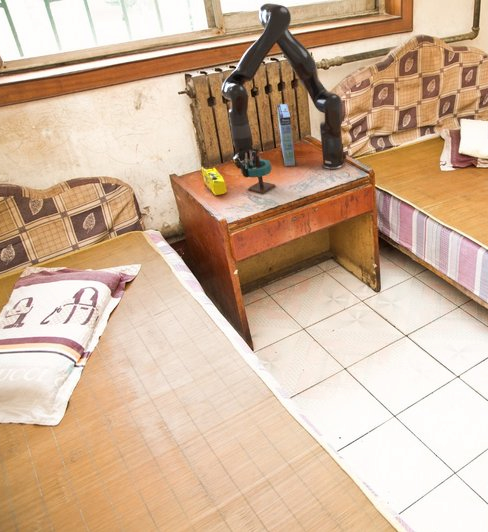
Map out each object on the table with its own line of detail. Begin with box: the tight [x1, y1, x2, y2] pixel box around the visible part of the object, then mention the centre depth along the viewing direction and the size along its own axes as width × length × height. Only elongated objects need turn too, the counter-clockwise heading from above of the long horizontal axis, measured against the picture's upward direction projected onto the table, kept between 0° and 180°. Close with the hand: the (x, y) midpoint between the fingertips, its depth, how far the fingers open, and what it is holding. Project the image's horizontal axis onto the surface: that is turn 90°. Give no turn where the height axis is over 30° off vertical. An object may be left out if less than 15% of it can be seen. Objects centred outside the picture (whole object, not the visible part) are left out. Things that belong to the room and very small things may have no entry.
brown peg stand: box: [247, 153, 276, 195], centre depth 227 cm, size 8×8×15 cm
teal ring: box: [240, 158, 273, 178], centre depth 224 cm, size 12×12×3 cm
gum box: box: [276, 103, 296, 167], centre depth 252 cm, size 20×5×23 cm, turn 13°
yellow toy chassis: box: [201, 166, 228, 196], centre depth 229 cm, size 16×6×8 cm, turn 31°
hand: (248, 175), depth 221 cm, fingers closed on teal ring, 2 cm apart
